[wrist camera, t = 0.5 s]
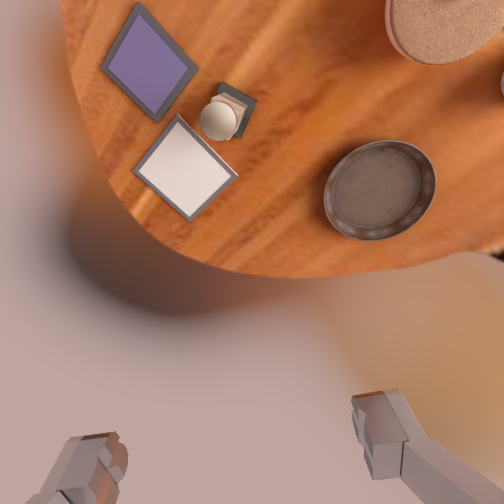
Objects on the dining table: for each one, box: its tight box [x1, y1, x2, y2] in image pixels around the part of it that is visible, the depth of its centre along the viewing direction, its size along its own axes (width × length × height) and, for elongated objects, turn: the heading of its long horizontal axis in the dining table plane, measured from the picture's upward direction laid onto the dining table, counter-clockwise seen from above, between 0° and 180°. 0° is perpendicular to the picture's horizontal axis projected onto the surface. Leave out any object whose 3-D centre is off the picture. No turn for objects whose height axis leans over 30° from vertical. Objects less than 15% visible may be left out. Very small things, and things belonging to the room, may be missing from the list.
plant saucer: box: [324, 140, 436, 241], centre depth 50 cm, size 18×18×3 cm
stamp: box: [200, 82, 257, 141], centre depth 42 cm, size 6×6×11 cm
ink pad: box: [101, 2, 199, 123], centre depth 45 cm, size 11×11×1 cm
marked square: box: [133, 114, 238, 222], centre depth 54 cm, size 14×14×1 cm
